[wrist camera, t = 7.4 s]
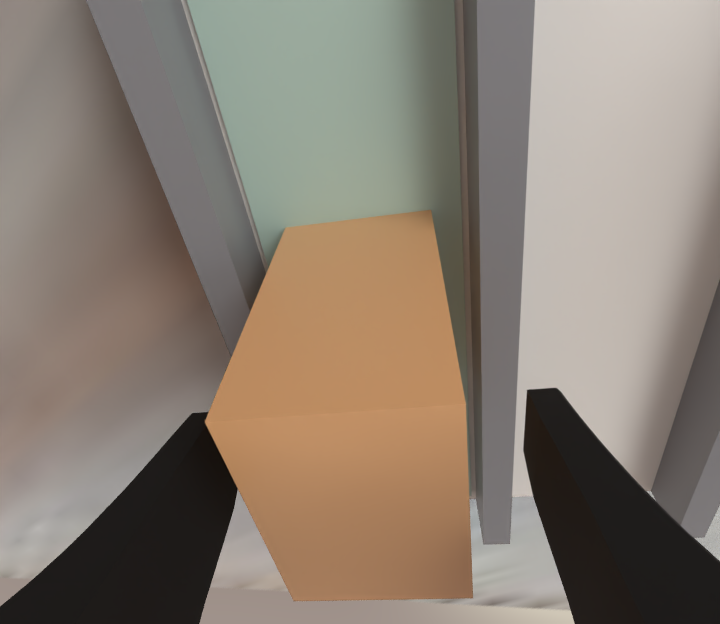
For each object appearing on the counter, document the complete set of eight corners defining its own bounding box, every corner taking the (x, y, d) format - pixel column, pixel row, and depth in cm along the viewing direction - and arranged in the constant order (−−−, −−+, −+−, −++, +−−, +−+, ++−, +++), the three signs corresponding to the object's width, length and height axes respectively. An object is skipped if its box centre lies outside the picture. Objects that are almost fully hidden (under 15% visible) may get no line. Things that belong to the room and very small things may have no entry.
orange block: (431, 209, 13) (465, 403, 7) (443, 375, 16) (473, 597, 10) (285, 227, 13) (204, 421, 7) (326, 385, 16) (293, 600, 11)
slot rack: (959, -228, 9) (1190, -310, 6) (691, 467, 20) (733, 536, 17) (96, -44, 11) (9, -50, 8) (297, 487, 22) (286, 550, 20)
